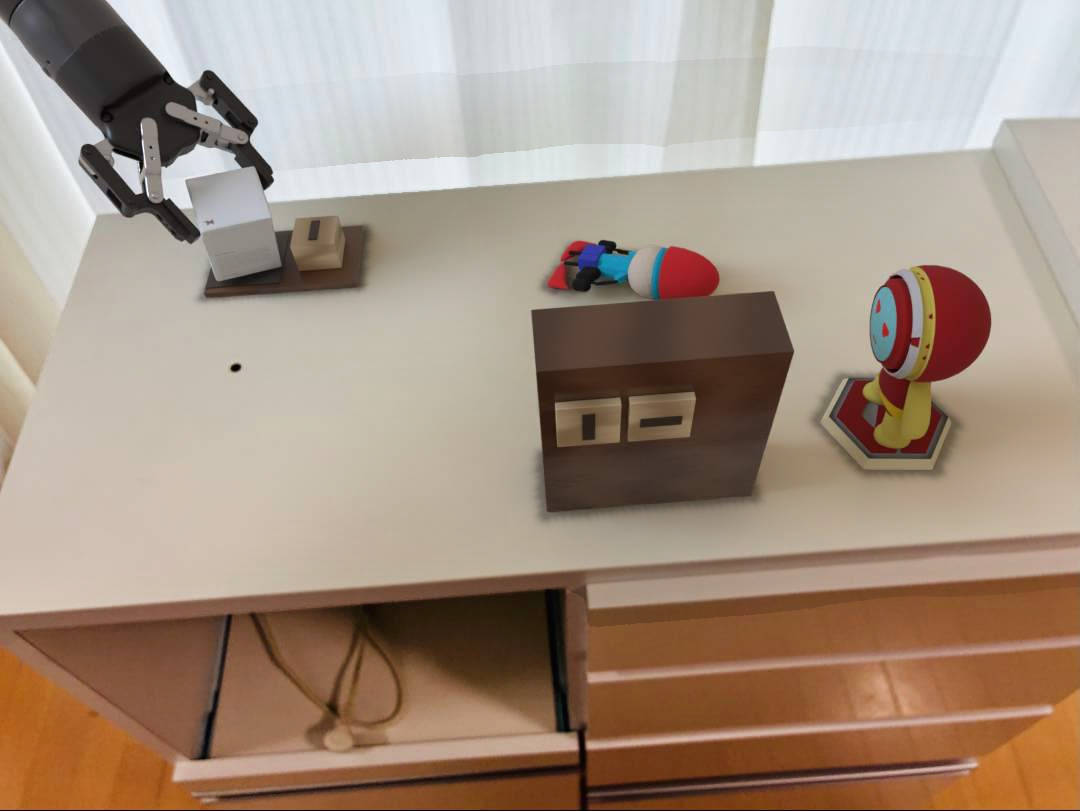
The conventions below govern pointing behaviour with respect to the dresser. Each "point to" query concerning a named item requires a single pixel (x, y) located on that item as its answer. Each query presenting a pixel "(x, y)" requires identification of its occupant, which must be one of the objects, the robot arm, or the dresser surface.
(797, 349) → the dresser surface
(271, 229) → the product box
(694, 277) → the toy figure
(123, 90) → the robot arm
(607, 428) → the dark wooden block
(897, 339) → the figurine
